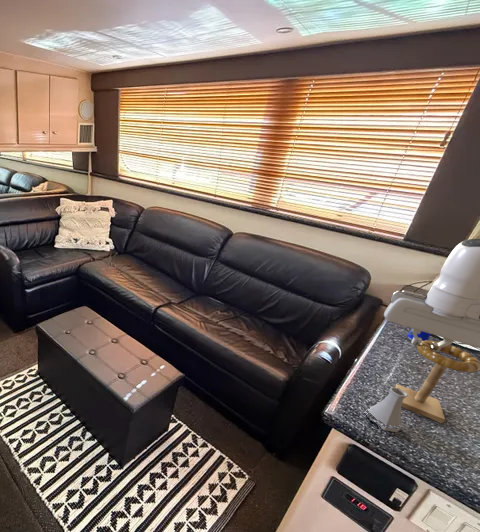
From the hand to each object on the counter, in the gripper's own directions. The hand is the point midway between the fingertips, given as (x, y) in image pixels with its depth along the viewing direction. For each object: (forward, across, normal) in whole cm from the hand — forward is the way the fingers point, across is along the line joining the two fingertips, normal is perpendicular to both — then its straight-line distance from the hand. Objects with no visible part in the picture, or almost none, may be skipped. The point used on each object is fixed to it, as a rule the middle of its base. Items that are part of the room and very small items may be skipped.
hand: (424, 347), depth 85 cm
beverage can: (+17, +8, +46) cm, 50 cm away
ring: (0, +4, 0) cm, 4 cm away
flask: (+18, -4, -15) cm, 23 cm away
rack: (+17, +4, 0) cm, 18 cm away
